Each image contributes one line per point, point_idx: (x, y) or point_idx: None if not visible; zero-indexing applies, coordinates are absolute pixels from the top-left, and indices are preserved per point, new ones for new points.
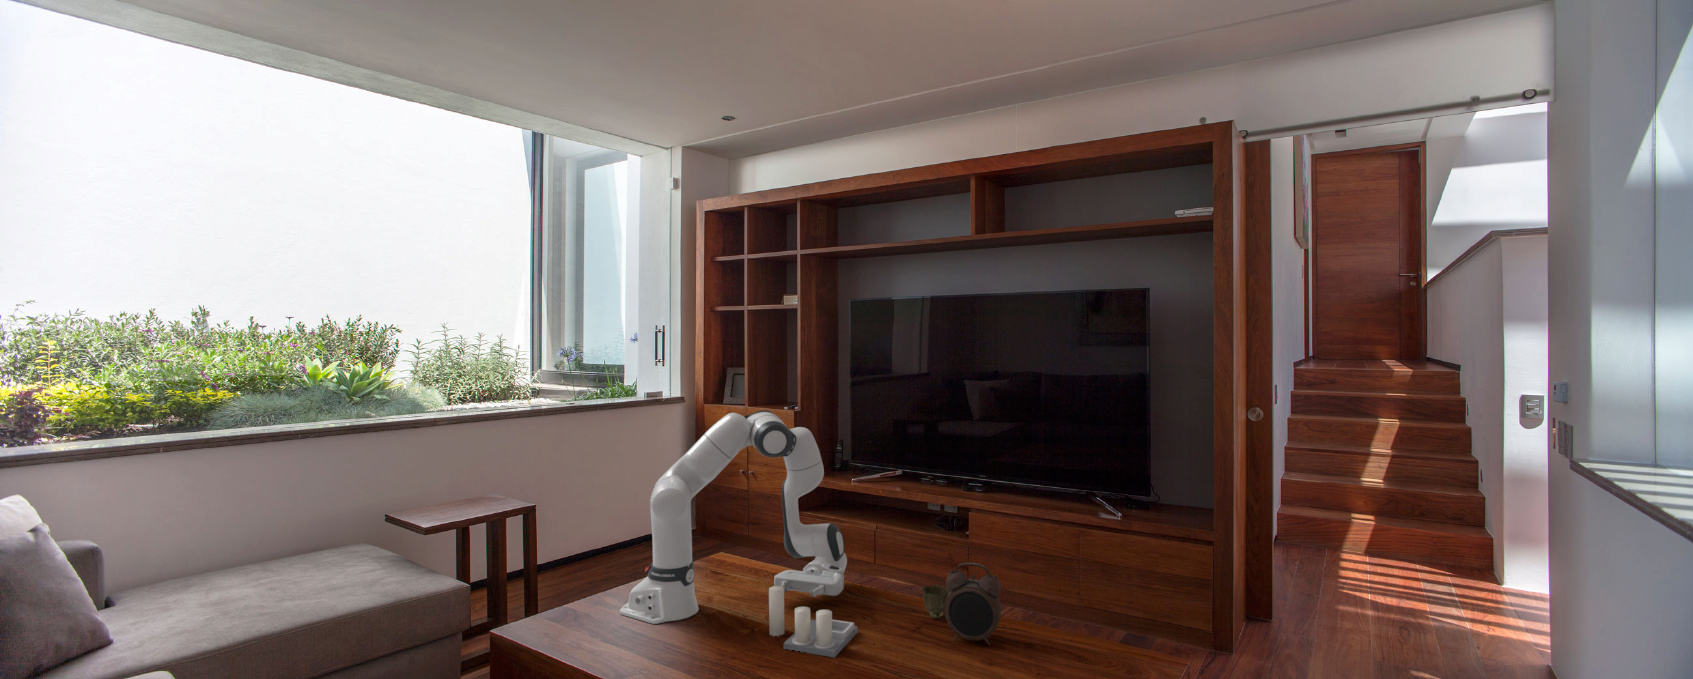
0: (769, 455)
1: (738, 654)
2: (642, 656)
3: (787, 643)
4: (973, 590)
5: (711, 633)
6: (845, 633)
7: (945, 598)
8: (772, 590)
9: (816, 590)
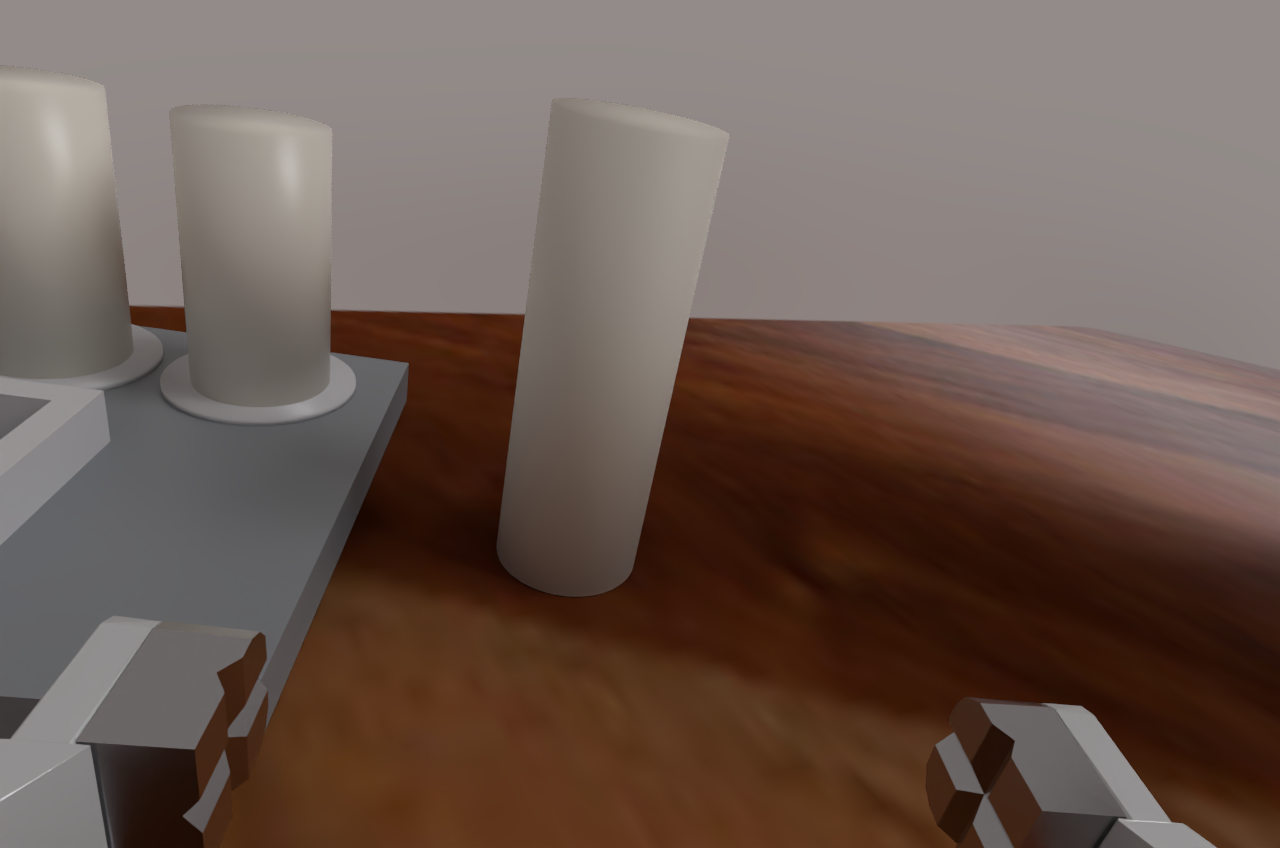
0: None
1: None
2: (995, 354)
3: (377, 359)
4: None
5: (997, 504)
6: None
7: None
8: (650, 110)
9: (39, 729)
